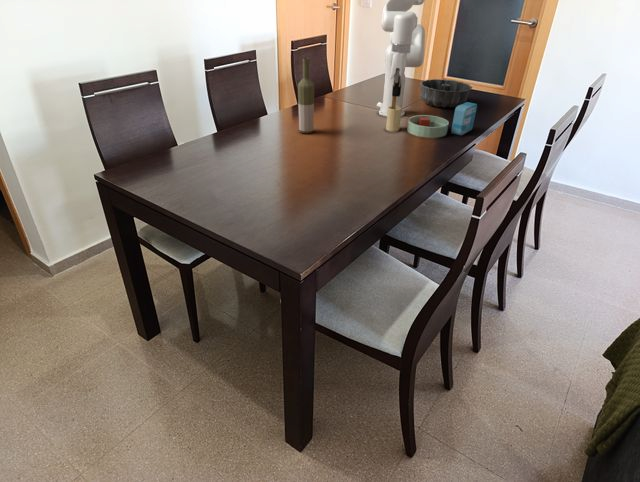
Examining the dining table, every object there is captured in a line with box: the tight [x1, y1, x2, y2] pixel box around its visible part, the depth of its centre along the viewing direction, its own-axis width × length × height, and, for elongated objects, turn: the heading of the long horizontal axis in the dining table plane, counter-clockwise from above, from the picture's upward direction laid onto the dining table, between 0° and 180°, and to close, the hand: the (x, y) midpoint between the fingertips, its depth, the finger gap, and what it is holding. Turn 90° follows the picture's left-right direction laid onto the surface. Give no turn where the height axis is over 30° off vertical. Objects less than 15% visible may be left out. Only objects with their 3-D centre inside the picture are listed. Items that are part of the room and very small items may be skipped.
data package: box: [450, 101, 478, 137], centre depth 186 cm, size 12×4×12 cm, turn 138°
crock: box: [385, 106, 403, 132], centre depth 187 cm, size 6×6×10 cm
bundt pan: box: [419, 78, 473, 109], centre depth 225 cm, size 26×26×10 cm
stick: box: [391, 96, 397, 109], centre depth 183 cm, size 2×2×16 cm
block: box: [418, 117, 430, 127], centre depth 192 cm, size 4×4×4 cm
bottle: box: [297, 57, 315, 134], centre depth 179 cm, size 7×7×30 cm
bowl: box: [406, 114, 449, 139], centre depth 187 cm, size 17×17×5 cm
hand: (396, 95), depth 182 cm, fingers closed on stick, 1 cm apart
